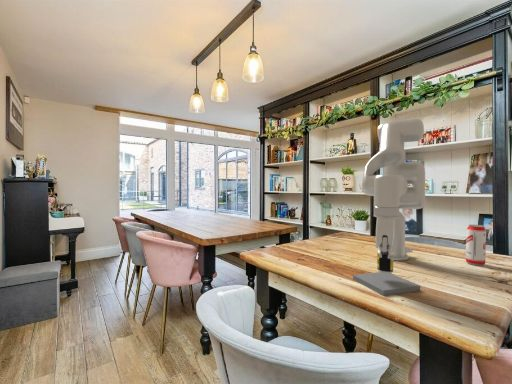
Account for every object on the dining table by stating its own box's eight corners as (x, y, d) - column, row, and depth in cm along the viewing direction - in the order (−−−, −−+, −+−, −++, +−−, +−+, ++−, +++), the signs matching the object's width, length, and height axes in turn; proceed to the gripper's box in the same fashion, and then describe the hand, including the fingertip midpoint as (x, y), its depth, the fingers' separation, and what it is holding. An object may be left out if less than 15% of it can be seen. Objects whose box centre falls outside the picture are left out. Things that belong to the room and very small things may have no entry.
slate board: (386, 275, 96) (386, 271, 96) (420, 290, 83) (420, 285, 83) (353, 279, 92) (353, 275, 92) (383, 295, 79) (383, 290, 79)
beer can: (482, 263, 112) (483, 225, 112) (487, 267, 106) (488, 227, 106) (463, 261, 115) (464, 224, 114) (468, 265, 109) (469, 226, 109)
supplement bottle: (374, 269, 90) (374, 244, 89) (387, 268, 90) (388, 243, 90) (382, 273, 85) (382, 247, 85) (396, 273, 85) (396, 247, 85)
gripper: (375, 209, 96) (374, 260, 97) (371, 214, 81) (370, 273, 82) (399, 211, 93) (398, 263, 93) (399, 215, 78) (397, 278, 78)
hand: (385, 267), depth 87 cm, fingers closed on supplement bottle, 4 cm apart
